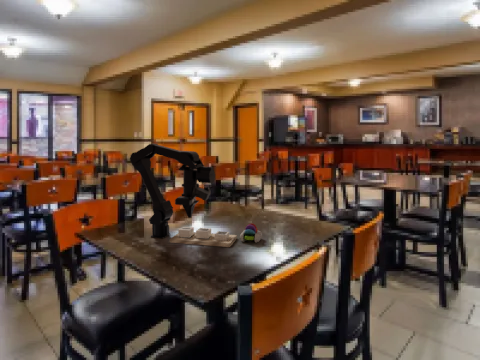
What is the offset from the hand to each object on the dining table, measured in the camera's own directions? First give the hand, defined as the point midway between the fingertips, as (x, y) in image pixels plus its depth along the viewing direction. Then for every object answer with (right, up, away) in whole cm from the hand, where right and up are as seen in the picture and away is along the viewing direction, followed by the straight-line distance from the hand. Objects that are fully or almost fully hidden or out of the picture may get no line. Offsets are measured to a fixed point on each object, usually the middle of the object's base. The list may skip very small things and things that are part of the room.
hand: (189, 217), depth 148 cm
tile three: (+14, -9, -2) cm, 17 cm away
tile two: (+6, -8, 0) cm, 10 cm away
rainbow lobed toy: (+26, -10, 0) cm, 28 cm away
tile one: (-2, -8, +1) cm, 8 cm away
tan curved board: (+6, -10, 0) cm, 11 cm away
